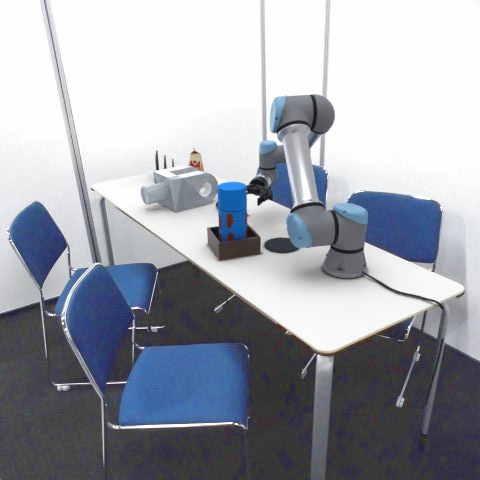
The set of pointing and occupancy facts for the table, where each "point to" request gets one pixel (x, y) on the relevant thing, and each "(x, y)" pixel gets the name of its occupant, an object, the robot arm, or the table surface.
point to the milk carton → (196, 161)
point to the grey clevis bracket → (180, 188)
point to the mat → (280, 245)
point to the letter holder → (164, 161)
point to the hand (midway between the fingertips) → (241, 200)
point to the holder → (234, 244)
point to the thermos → (232, 211)
